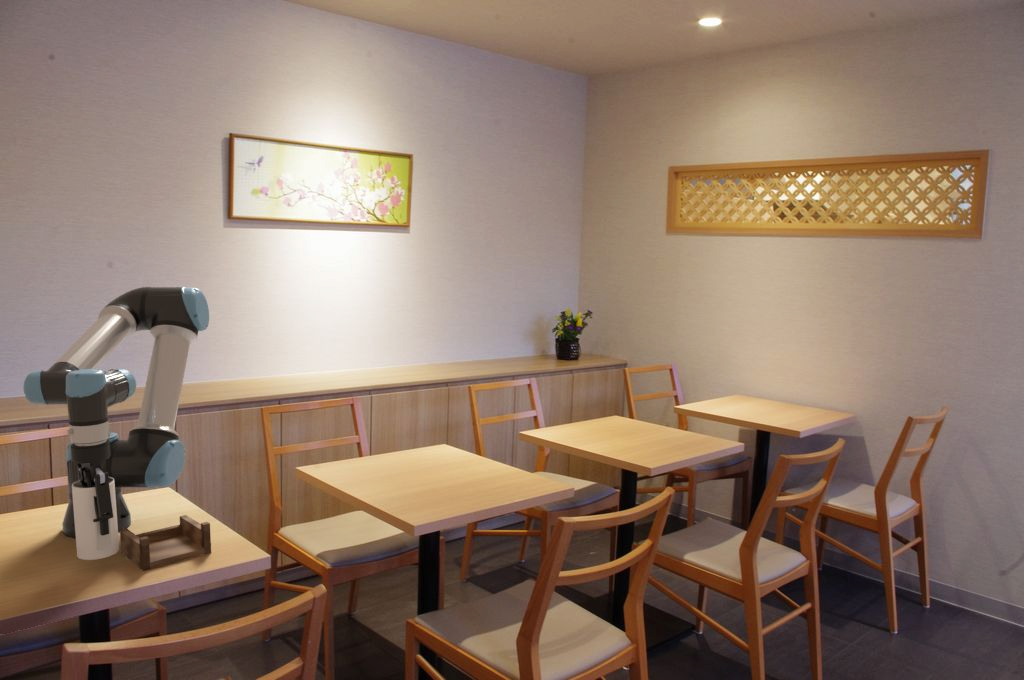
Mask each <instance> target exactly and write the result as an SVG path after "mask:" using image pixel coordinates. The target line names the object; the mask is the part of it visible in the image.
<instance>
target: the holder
mask: <svg viewBox="0 0 1024 680" xmlns="http://www.w3.org/2000/svg"><path fill="white" fill-rule="evenodd" d="M119 537H120V553H121V555H123V557H126V559H128V560H129V561H130V562H132V563H133V565H135V566H137V567H138V569H140V570H141V571H142V572H144V571H149V570H152V569H155V568H160V567H164V566H167V565H172V564H174V563H179V562H182V561H185V560H190V559H194V558H197V557H201V556H205V555H208V554H211V553H212V539H211V523H210V522H208V521H205V522H202V523H200V522H199V521H197V520H195V519H194V518H192V517H190V516H189V515H186V514H183V515H179V524H176V525H171V526H167V527H163V528H159V529H155V530H151V531H146V532H143V533H137V534H135V533H134V532H133V531H131V530H130V529H128V527H126V528H125V529H122V530H120V531H119Z"/></svg>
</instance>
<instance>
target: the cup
mask: <svg viewBox="0 0 1024 680" xmlns="http://www.w3.org/2000/svg"><path fill="white" fill-rule="evenodd" d="M109 488H110V496H111V503H112V511H113V518H110V530H111V544H112V547H109V548H105V549H102V550H97V541H96V528H95V522H93V520H94V519H96V513H95V507H94V496H96V490H95V487H92V488H83V485H82V484H81V482H80V480H78V481H76V482H74V483H73V484H72V496H73V509H74V521H75V534H76V537H75V544H76V556H77V558H79V559H80V560H85V561H93V560H102V559H106V558H108V557H111V556H113V555H115V554H117V553H119V551H120V541H119V537H120V536H119V531H118V523H117V509H116V495H115V482H114V478H112V477H109ZM105 514H106V513H105Z"/></svg>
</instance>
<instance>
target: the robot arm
mask: <svg viewBox="0 0 1024 680" xmlns="http://www.w3.org/2000/svg"><path fill="white" fill-rule="evenodd" d="M206 298H207V297H206V295H205V294H204V293H203V291H202V290H201V289H199V288H197V287H189V286H180V287H179V286H174V287H172V286H171V287H169V286H168V287H167V286H165V287H164V286H161V287H160V286H158V287H157V286H156V287H155V286H154V287H153V286H141V287H138V288H135V289H131V290H129V291H127V292H125V293H123V294H121V295H119V296H118V297H116V298H115V299H114V298H113V300H111V301H110V302H109V303H108V304H107V305H105V306H104V307H103V308H102V309H101V310H100V311H99V314H98V319H97V320H96V321H95V322H94V323H93V324H92V325H91V326H90V327H89V328H88V329H87V330H86V331H85V332H84V333H83V334H82V335H81V336H80V337H79V338H78V339H77V340H76V341H75V342H74V343H73V344H72V345H71V346H70V347H69V348H68V349H67V350H66V351H65V352H64V353H63V354H62V355H61V356H60V357H59V358H58V360H57V361H55V362H54V364H52V365H51V366H50V367H49V368H48V370H43V369H42V370H41V369H40V370H37V371H35V370H34V371H31V372H30V373H28V374H27V376H26V377H25V379H24V381H23V393H24V395H25V399H26V400H27V401H28V402H29V403H31V404H34V405H46V406H49V405H51V406H52V405H67V406H66V407H67V414H68V415H67V416H68V426H69V429H66V434H67V435H69V439H70V442H69V443H68V444H67V446H66V450H65V451H66V454H65V456H66V457H65V463H66V472H67V485H68V502H67V503H68V505H67V507H66V511H65V515H64V517H63V522H62V533H63V534H64V535H65V536H68V537H71V538H76V534H75V521H74V509H73V496H72V484H73V483H74V482H76V481H78V480H80V482H81V484H82V485H83V488H92V487H95V490H96V496H94V507H95V513H96V519H94V520H93V522H95V528H96V541H97V550H102V549H105V548H109V547H112V544H111V530H110V518H113V511H112V503H111V496H110V488H109V477H112V478H114V482H115V495H116V509H117V523H118V532H120V530H122V529H126V528H128V527H129V526H130V525H131V523H132V518H131V512H130V510H129V507H128V505H127V503H126V501H125V498H124V496H123V492H122V488H131V489H132V488H142V489H144V488H145V489H147V488H148V489H156V488H167V487H169V486H172V485H173V484H174V483H175V482H176V481H177V480H178V479H179V478H180V475H181V473H182V471H183V468H184V465H185V461H186V454H185V452H186V449H185V446H184V444H183V442H182V441H181V440H179V439H180V435H179V434H178V432H177V431H176V430H175V427H176V421H177V415H178V410H179V404H180V399H181V393H182V390H183V389H182V388H183V383H184V379H185V372H186V366H187V362H188V355H189V350H190V345H191V344H192V343H194V342H196V341H197V340H198V334H199V332H203V331H205V330H207V328H208V326H209V322H210V309H209V305H208V302H207V299H206ZM139 331H140V332H141V331H150V332H149V333H150V334H151V335H152V336H153V338H154V342H153V347H152V351H151V356H150V361H149V366H148V371H147V377H146V382H145V386H144V391H143V396H142V402H141V407H140V411H139V416H138V421H137V425H135V426H134V427H132V428H131V429H129V433H128V436H127V439H123V440H122V439H120V436H119V434H118V433H116V432H110V423H109V420H110V419H109V415H108V414H109V413H108V408H109V407H112V406H114V405H118V404H119V403H124V402H125V401H126V400H127V399H129V398H130V397H132V396H133V395H134V393H135V392H136V389H137V380H136V378H135V376H134V374H132V373H131V372H130V371H129V370H127V369H126V368H125V369H124V368H111V369H109V370H106V371H105V370H104V371H103V370H102V369H100V368H98V367H99V366H100V365H101V364H102V363H103V362H104V361H105V359H106V358H107V357H108V356H109V355H110V354H111V353H112V352H113V351H114V350H115V348H116V347H117V346H118V345H119V344H120V343H121V342H122V341H123V340H124V339H127V338H130V337H132V336H133V335H134V333H136V332H139ZM105 513H106V514H105Z"/></svg>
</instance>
